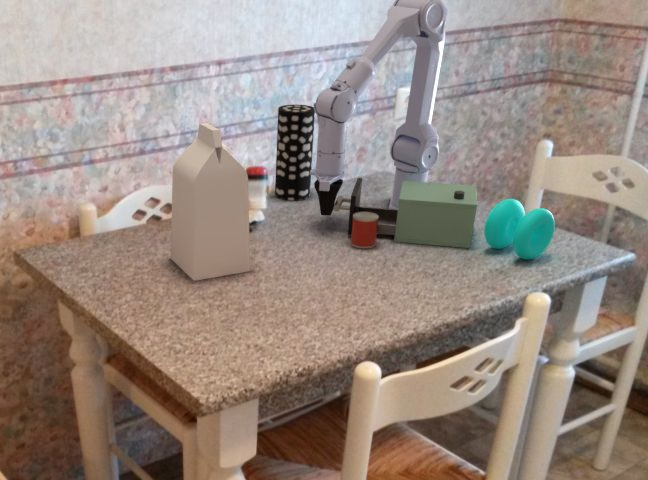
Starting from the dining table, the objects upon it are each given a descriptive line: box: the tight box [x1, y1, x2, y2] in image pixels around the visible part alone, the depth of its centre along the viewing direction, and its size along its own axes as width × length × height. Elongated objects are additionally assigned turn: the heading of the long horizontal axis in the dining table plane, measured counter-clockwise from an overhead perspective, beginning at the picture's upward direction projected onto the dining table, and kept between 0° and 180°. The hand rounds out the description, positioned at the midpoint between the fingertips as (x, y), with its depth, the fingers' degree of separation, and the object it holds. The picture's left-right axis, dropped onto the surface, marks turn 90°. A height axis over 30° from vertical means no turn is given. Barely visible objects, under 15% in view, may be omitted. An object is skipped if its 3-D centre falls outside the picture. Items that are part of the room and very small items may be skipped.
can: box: [350, 212, 379, 250], centre depth 164 cm, size 5×5×6 cm
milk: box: [170, 122, 251, 282], centre depth 150 cm, size 12×12×26 cm
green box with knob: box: [393, 181, 478, 249], centre depth 168 cm, size 13×15×10 cm
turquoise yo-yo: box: [483, 198, 556, 261], centre depth 159 cm, size 10×10×10 cm
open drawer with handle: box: [333, 177, 398, 236], centre depth 171 cm, size 13×18×8 cm
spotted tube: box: [274, 104, 316, 201], centre depth 189 cm, size 8×8×20 cm
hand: (326, 214), depth 174 cm, fingers closed, pressing on open drawer with handle
